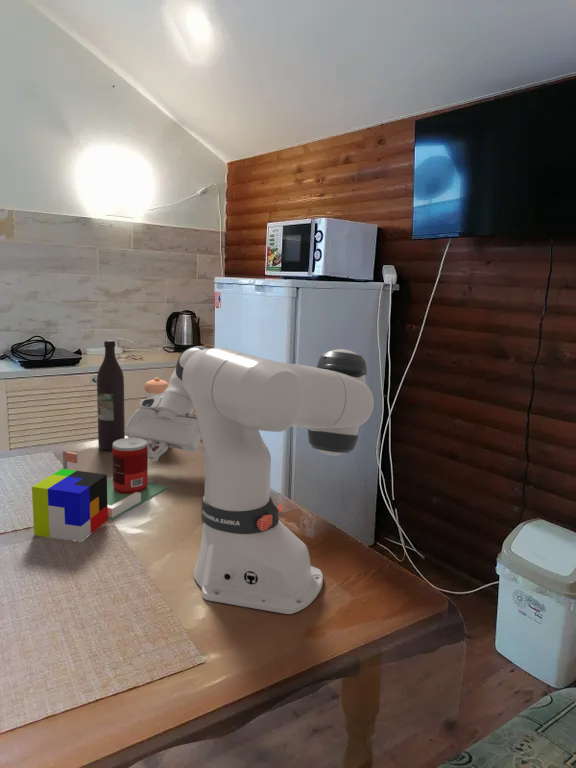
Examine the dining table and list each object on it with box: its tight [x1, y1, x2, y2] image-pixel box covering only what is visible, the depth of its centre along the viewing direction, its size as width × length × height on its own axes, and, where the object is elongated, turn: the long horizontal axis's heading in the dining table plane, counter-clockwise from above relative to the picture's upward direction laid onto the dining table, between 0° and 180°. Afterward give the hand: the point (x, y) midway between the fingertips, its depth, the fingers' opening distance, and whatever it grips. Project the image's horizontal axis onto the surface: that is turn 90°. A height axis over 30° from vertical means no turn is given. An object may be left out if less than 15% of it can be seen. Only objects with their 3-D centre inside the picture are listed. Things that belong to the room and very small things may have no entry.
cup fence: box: [62, 449, 141, 518], centre depth 128 cm, size 13×9×12 cm
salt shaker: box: [143, 376, 169, 447], centre depth 169 cm, size 7×7×19 cm
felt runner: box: [107, 478, 169, 521], centre depth 133 cm, size 14×20×1 cm
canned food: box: [111, 437, 149, 494], centre depth 137 cm, size 8×8×11 cm
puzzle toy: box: [31, 468, 109, 542], centre depth 117 cm, size 10×10×10 cm
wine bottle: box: [96, 339, 126, 452], centre depth 162 cm, size 7×7×30 cm
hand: (150, 459), depth 144 cm, fingers closed
